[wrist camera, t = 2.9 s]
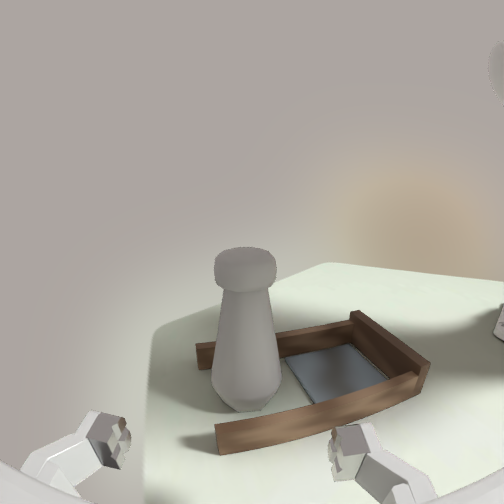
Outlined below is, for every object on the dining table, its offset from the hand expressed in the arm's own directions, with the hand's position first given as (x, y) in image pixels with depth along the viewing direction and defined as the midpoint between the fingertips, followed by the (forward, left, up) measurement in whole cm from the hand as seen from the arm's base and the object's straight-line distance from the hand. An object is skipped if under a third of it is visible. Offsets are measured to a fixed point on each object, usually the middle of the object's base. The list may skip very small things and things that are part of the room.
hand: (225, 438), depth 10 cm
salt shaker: (-9, -8, -9) cm, 15 cm away
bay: (-14, -5, -9) cm, 17 cm away
